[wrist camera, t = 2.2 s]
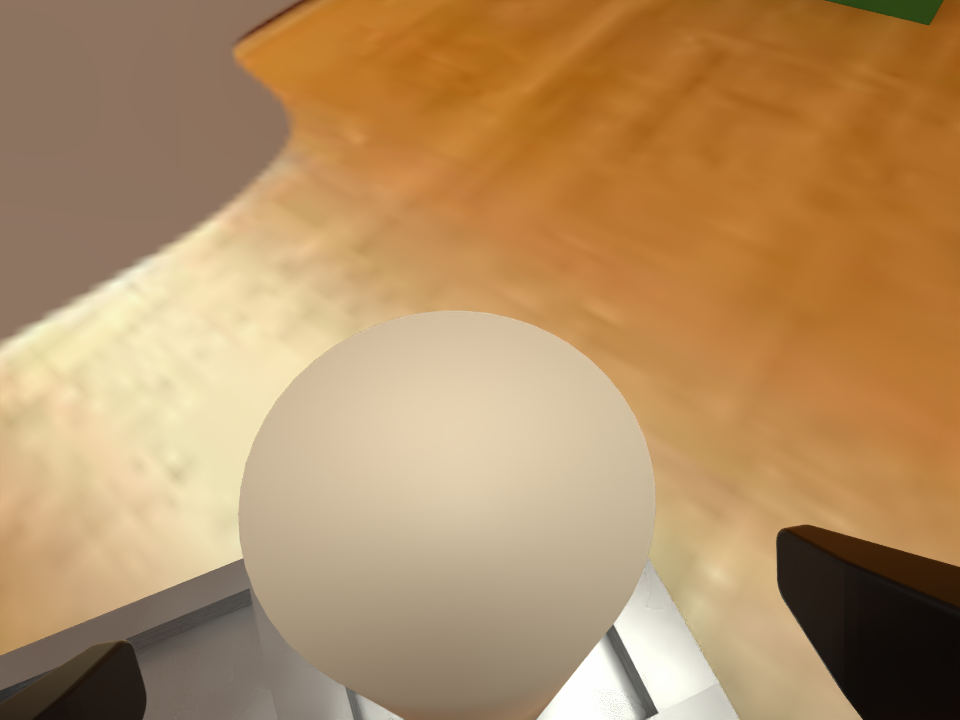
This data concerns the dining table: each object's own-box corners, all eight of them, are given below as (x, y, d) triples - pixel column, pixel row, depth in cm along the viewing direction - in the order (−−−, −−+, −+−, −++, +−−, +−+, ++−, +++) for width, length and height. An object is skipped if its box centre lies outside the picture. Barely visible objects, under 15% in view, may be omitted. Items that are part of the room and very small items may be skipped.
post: (535, 777, 15) (601, 790, 5) (355, 704, 16) (151, 610, 6) (583, 584, 17) (687, 364, 8) (424, 530, 18) (349, 275, 9)
